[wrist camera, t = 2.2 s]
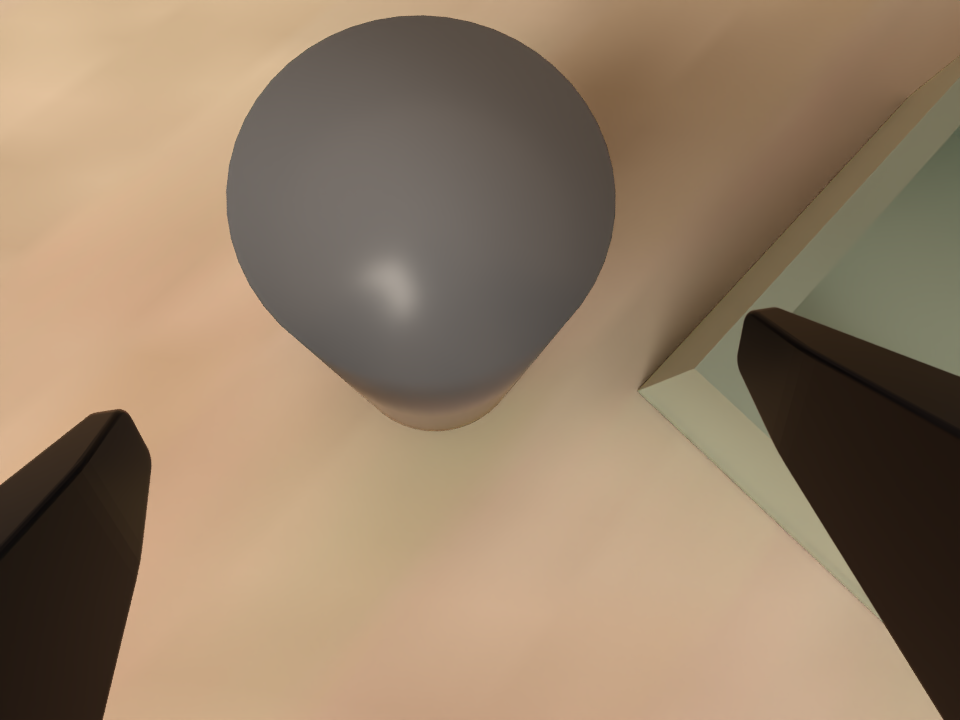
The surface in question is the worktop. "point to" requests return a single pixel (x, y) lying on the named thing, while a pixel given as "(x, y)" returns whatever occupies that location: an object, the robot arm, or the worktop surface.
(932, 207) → the sage bin
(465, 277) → the ball
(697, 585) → the worktop surface
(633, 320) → the worktop surface
